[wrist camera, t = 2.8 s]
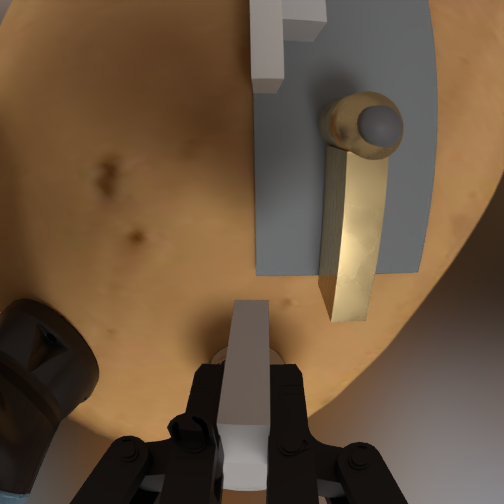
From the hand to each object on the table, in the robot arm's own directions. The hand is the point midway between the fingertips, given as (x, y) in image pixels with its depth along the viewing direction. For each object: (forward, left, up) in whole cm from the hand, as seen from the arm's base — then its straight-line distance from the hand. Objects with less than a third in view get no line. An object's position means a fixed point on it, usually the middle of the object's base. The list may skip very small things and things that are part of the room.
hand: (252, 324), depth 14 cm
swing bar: (+6, +4, -9) cm, 11 cm away
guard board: (+7, +9, -10) cm, 16 cm away
